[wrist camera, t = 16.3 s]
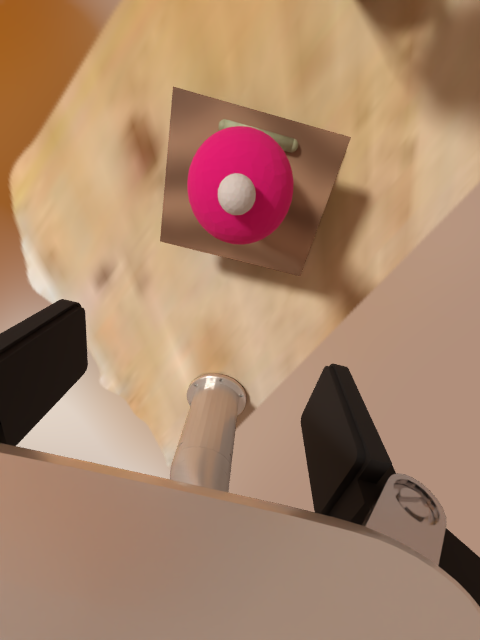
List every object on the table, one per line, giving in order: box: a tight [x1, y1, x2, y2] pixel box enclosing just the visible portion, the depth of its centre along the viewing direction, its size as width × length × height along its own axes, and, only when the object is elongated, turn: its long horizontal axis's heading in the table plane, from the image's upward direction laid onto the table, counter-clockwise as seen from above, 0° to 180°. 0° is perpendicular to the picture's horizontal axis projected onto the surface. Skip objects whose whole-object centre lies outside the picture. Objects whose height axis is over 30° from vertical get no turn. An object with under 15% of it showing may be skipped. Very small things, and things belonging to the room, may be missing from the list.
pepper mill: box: [187, 126, 294, 245], centre depth 20 cm, size 7×7×20 cm
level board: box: [160, 87, 351, 276], centre depth 30 cm, size 15×18×2 cm
